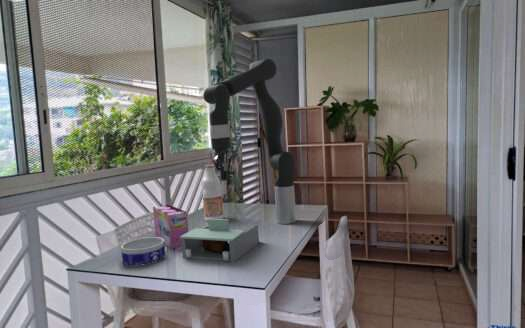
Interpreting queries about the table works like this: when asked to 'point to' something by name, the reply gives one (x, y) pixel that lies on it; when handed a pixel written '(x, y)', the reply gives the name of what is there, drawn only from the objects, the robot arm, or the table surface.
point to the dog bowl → (143, 250)
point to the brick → (216, 246)
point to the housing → (237, 249)
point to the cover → (214, 231)
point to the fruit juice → (211, 194)
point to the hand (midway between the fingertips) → (224, 180)
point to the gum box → (170, 224)
